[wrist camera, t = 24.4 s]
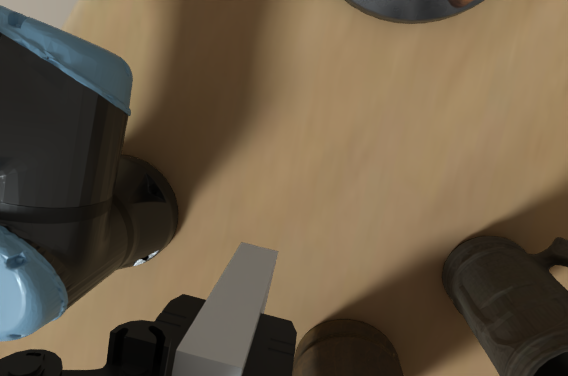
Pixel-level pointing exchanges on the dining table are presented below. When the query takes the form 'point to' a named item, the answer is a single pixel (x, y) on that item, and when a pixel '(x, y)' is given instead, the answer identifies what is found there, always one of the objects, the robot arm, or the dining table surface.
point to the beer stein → (512, 303)
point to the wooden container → (345, 351)
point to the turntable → (413, 9)
